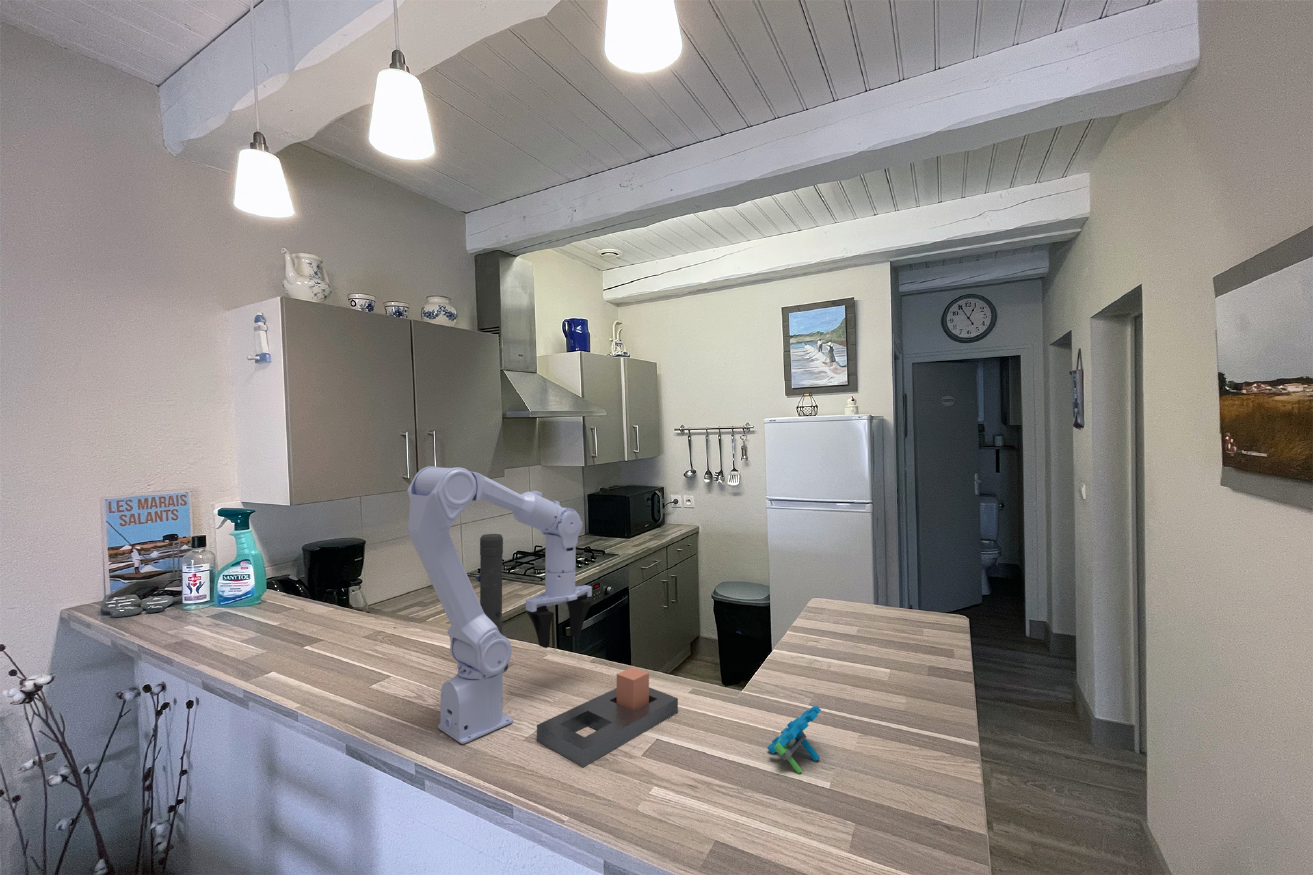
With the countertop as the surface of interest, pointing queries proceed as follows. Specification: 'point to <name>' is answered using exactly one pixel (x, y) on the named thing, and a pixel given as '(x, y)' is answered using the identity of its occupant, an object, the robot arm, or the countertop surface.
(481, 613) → the robot arm
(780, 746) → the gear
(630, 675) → the square block
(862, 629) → the countertop surface
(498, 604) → the flashlight
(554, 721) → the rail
